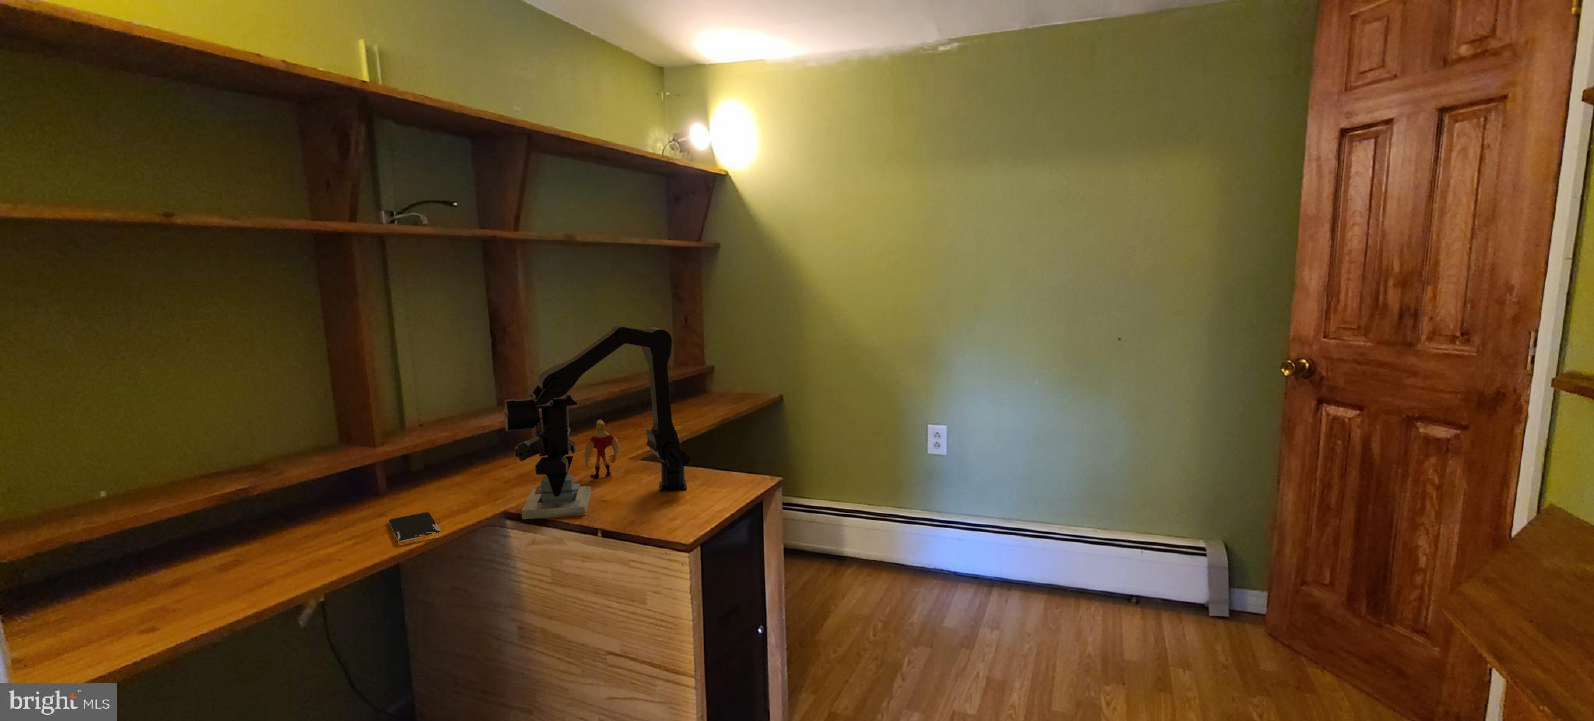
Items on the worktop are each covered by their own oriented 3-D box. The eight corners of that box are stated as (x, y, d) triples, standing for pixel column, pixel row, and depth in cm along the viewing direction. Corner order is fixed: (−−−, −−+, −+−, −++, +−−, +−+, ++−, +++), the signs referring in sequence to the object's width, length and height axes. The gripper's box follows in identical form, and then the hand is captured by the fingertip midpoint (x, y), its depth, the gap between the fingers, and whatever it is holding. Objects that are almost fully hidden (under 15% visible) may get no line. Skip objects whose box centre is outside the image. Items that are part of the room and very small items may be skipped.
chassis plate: (533, 497, 158) (533, 489, 158) (590, 494, 161) (590, 486, 161) (522, 519, 145) (521, 510, 144) (585, 515, 147) (584, 506, 147)
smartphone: (428, 511, 147) (442, 532, 135) (429, 517, 147) (442, 539, 135) (388, 519, 142) (398, 542, 130) (388, 525, 142) (399, 548, 130)
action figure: (615, 470, 179) (614, 416, 177) (621, 474, 176) (620, 418, 174) (581, 477, 173) (579, 420, 171) (586, 481, 170) (584, 423, 168)
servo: (541, 492, 157) (540, 471, 156) (582, 489, 159) (581, 469, 158) (535, 503, 150) (534, 482, 149) (578, 500, 152) (577, 479, 151)
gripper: (524, 417, 158) (528, 482, 160) (508, 437, 139) (511, 509, 142) (574, 416, 160) (576, 479, 162) (564, 435, 142) (567, 506, 144)
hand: (558, 492), depth 152 cm, fingers closed on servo, 4 cm apart
